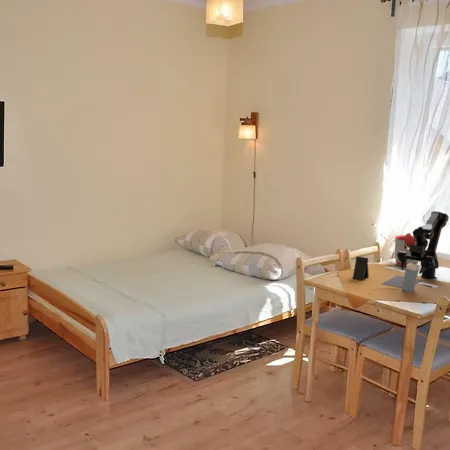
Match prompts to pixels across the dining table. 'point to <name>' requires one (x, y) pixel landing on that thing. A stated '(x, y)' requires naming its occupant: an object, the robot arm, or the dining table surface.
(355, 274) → the black picture frame
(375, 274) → the dining table surface
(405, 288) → the tall block
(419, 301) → the dining table surface
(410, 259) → the robot arm
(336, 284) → the dining table surface
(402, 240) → the citrus juicer
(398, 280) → the rubber mat
